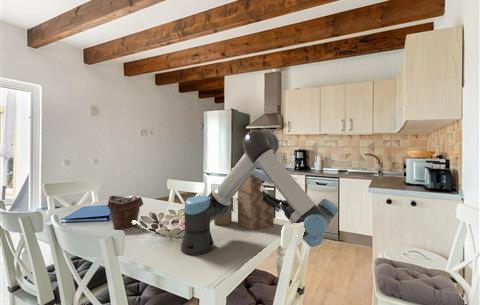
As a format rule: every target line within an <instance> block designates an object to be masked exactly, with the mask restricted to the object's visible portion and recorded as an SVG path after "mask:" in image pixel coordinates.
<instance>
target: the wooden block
mask: <svg viewBox="0 0 480 305" xmlns="http://www.w3.org/2000/svg"><path fill="white" fill-rule="evenodd" d="M232 199H233V197H232V198H231V201H232ZM232 204H233V201H232V202H231V204H230V207H229V210H228V212H227V213H226V214H224V215H223V216H221V217H218V218H216V219H214V220H213V221H214V222H213V223H214V225H215V226H230V225H231V223H232V220H233V218H232V217H233V216H232V215H233V214H232V212H233V211H232V208H233V206H232Z"/></svg>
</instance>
